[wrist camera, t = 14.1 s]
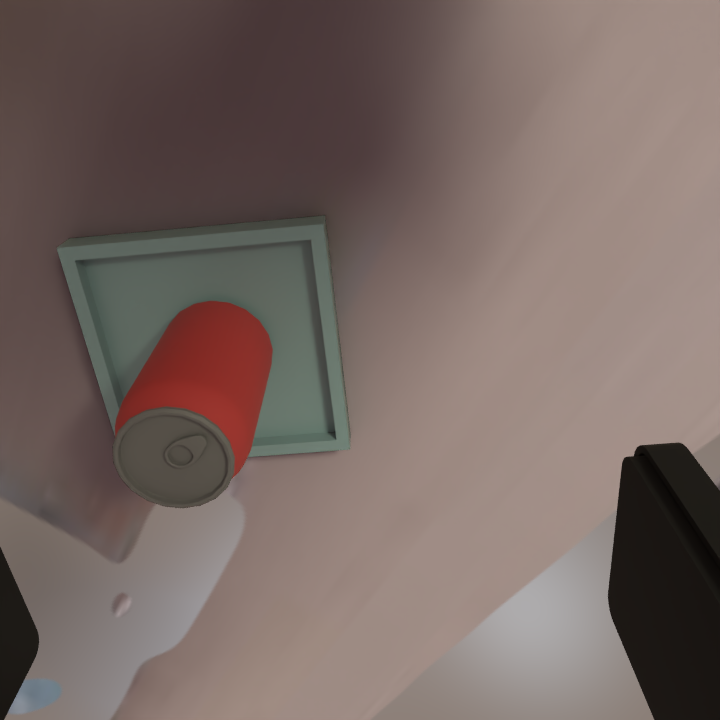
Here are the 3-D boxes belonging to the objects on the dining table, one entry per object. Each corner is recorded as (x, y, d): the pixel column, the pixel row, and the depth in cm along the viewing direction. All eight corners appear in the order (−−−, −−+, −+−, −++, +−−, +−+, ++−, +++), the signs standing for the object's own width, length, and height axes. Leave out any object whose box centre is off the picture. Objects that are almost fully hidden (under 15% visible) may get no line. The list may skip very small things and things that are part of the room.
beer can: (296, 354, 41) (275, 471, 31) (218, 410, 43) (173, 539, 33) (223, 275, 39) (172, 372, 28) (143, 337, 41) (69, 451, 30)
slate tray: (325, 215, 38) (323, 224, 37) (350, 434, 45) (350, 449, 43) (68, 238, 39) (56, 248, 37) (132, 450, 46) (124, 466, 44)
